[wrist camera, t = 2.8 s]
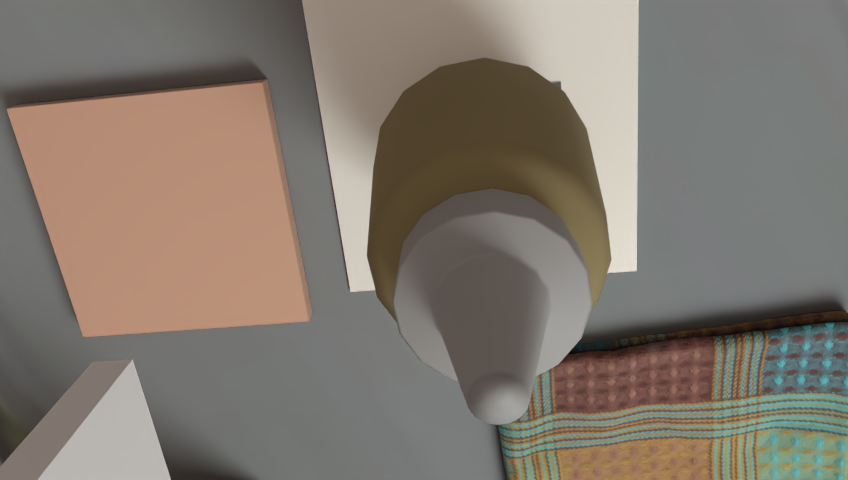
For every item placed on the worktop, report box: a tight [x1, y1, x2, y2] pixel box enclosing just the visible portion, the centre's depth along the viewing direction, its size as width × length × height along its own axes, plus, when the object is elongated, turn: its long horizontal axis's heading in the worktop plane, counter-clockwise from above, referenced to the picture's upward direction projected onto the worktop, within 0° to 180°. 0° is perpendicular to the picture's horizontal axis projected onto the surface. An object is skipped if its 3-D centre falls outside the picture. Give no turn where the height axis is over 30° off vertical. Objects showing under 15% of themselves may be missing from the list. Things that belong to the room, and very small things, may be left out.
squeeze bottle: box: [367, 58, 612, 425], centre depth 21 cm, size 8×8×18 cm
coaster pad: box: [7, 79, 312, 337], centre depth 31 cm, size 11×11×1 cm
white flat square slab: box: [302, 0, 639, 292], centre depth 30 cm, size 13×13×1 cm
